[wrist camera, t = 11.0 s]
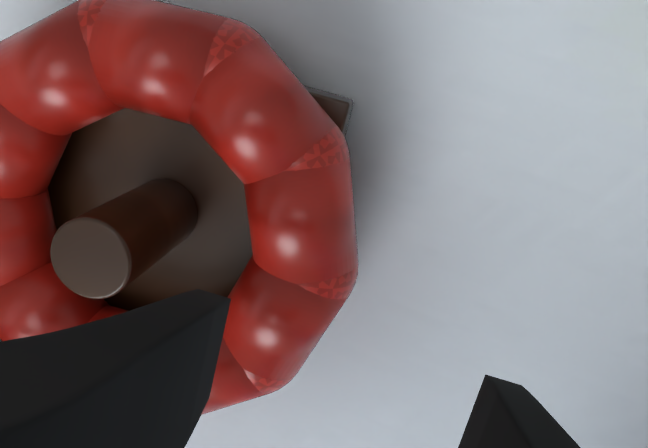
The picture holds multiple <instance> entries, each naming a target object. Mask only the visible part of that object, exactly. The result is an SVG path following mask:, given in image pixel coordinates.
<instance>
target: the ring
mask: <svg viewBox="0 0 648 448" xmlns="http://www.w3.org/2000/svg"><path fill="white" fill-rule="evenodd" d="M124 108H127V109H131V110H135V111H139V112H143V113H147V114H151V115H155V116H159V117H163V118H167V119H171V120H175V121H179V122H183V123H187V124H191V125H192V126H193V127H194V128H195V129H196V130H197V131H198V132H199V134H200V135H201V136H202V137H203V138H204V139H205V140H206V142H207V143H208V144H209V145H210V146H211V147H212V148H213V150H214V151H215V152H216V153H217V154H218V155H219V156H220V157H221V159H222V160H223V161H224V162H225V163H226V164H227V165H228V167H229V168H230V169H231V170H232V171H233V172H234V173H235V175H236V176H237V177H238V178H239V179H240V180H241V181H242V183H243V184H244V190H245V198H246V206H247V213H248V221H249V229H250V237H251V245H252V253H253V255H252V257H251V259H250V260H249V262H248V264H247V265H246V267H245V269H244V270H243V272H242V274H241V275H240V277H239V279H238V280H237V282H236V284H235V286H234V287H233V289H232V291H231V292H230V294H229V296H228V297H227V298H230V299H231V302H230V306H229V311H228V315H227V320H226V324H225V329H224V333H223V338H222V342H221V347H220V351H219V356H218V360H217V365H216V370H215V374H214V379H213V383H212V388H211V392H210V397H209V400H208V402H207V404H206V406H205V408H204V410H203V412H202V414H205V413H208V412H212V411H215V410H218V409H221V408H224V407H228V406H231V405H234V404H237V403H240V402H244V401H247V400H250V399H253V398H256V397H260V396H263V395H266V394H269V393H272V392H274V391H277V390H279V389H281V388H282V387H283V386H285V385H286V384H287V383H289V382H290V381H291V380H292V379H293V377H294V376H295V375H296V374H297V372H298V371H299V369H300V368H301V366H302V365H303V364H304V362H305V361H306V359H307V358H308V356H309V355H310V353H311V352H312V350H313V349H314V347H315V346H316V344H317V343H318V341H319V340H320V338H321V337H322V335H323V334H324V332H325V331H326V329H327V328H328V326H329V325H330V323H331V322H332V320H333V319H334V317H335V316H336V314H337V313H338V311H339V310H340V308H341V307H342V305H343V304H344V302H345V301H346V299H347V298H348V296H349V295H350V293H351V291H352V289H353V287H354V285H355V283H356V279H357V275H358V252H357V239H356V227H355V215H354V202H353V190H352V178H351V165H350V154H349V150H348V145H347V142H346V140H345V137H344V135H343V133H342V132H341V130H340V129H339V127H338V126H337V125H336V124H335V123H334V121H333V120H332V119H331V118H330V117H329V115H328V114H327V113H326V112H325V111H324V110H323V108H322V107H321V106H320V105H319V104H318V102H317V101H316V100H315V99H314V98H313V97H312V95H311V94H310V93H309V92H308V91H307V89H306V88H305V87H304V86H303V85H302V84H301V82H300V81H299V80H298V79H297V78H296V76H295V75H294V74H293V73H292V72H291V71H290V69H289V68H288V67H287V66H286V65H285V63H284V62H283V61H282V60H281V59H280V58H279V56H278V55H277V54H276V53H275V52H274V50H273V49H272V48H271V47H270V46H269V45H268V43H267V42H266V41H265V40H264V39H263V38H262V36H261V35H260V34H258V33H257V32H256V31H255V30H254V29H253V28H251V27H249V26H248V25H246V24H244V23H242V22H240V21H237V20H235V19H231V18H227V17H223V16H219V15H214V14H210V13H206V12H202V11H197V10H193V9H189V8H185V7H180V6H176V5H172V4H168V3H164V2H159V1H155V0H78V1H76V2H75V3H73V4H71V5H69V6H67V7H65V8H63V9H61V10H59V11H57V12H56V13H54V14H52V15H50V16H48V17H46V18H44V19H42V20H40V21H39V22H37V23H35V24H33V25H31V26H29V27H27V28H25V29H23V30H21V31H20V32H18V33H16V34H14V35H12V36H10V37H8V38H6V39H4V40H2V41H1V42H0V339H1V340H2V341H7V340H12V339H18V338H24V337H29V336H35V335H40V334H45V333H50V332H54V331H59V330H63V329H67V328H71V327H75V326H78V325H82V324H86V323H89V322H93V321H96V320H100V319H103V318H107V317H111V316H114V315H118V314H121V313H124V312H127V310H124V309H120V308H117V307H113V306H110V305H109V304H108V303H107V302H106V301H105V300H104V299H91V298H86V297H83V296H80V295H78V294H76V293H74V292H73V291H71V290H70V289H69V288H67V287H66V286H65V285H64V284H63V283H62V282H61V280H60V279H59V278H58V276H57V274H56V273H55V270H54V268H53V265H52V262H51V254H50V251H51V243H52V240H53V237H54V235H55V233H56V232H57V230H56V225H55V220H54V215H53V210H52V206H51V201H50V196H49V191H48V186H49V184H50V181H51V179H52V177H53V175H54V173H55V170H56V168H57V166H58V164H59V161H60V159H61V157H62V155H63V152H64V150H65V148H66V146H67V143H68V141H69V139H70V137H71V134H72V132H75V131H77V130H79V129H81V128H83V127H85V126H87V125H90V124H92V123H94V122H96V121H98V120H100V119H102V118H105V117H107V116H109V115H111V114H113V113H115V112H117V111H120V110H122V109H124ZM202 414H201V415H202Z"/></svg>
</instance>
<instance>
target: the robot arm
mask: <svg viewBox="0 0 648 448" xmlns="http://www.w3.org/2000/svg"><path fill="white" fill-rule="evenodd" d="M230 302H231V299H230V298H227V297H224V296H220V295H217V294H214V293H210V292H207V291H204V290H200V289H196V290H191V291H187V292H184V293H181V294H178V295H175V296H172V297H169V298H166V299H163V300H160V301H157V302H154V303H151V304H148V305H145V306H142V307H139V308H136V309H133V310H130V311H127V312H124V313H121V314H118V315H114V316H111V317H107V318H103V319H100V320H96V321H93V322H89V323H86V324H82V325H78V326H75V327H71V328H67V329H63V330H59V331H54V332H50V333H45V334H40V335H35V336H29V337H24V338H18V339H12V340H7V341H0V448H184V447H185V445H186V444H187V442H188V440H189V438H190V436H191V434H192V432H193V430H194V428H195V426H196V424H197V422H198V420H199V418H200V416H201V414H202V412H203V410H204V408H205V406H206V404H207V402H208V400H209V397H210V392H211V388H212V383H213V379H214V374H215V370H216V365H217V360H218V356H219V351H220V347H221V342H222V338H223V333H224V329H225V324H226V320H227V315H228V311H229V306H230ZM458 448H580V447H579V446H578V444H577V443H576V442H575V441H574V440H573V439H572V438H571V437H570V436H569V435H568V434H567V432H566V431H565V430H564V429H563V428H562V427H561V426H560V425H559V424H558V423H557V421H556V420H555V419H554V418H553V417H552V416H551V415H550V414H549V413H548V411H547V410H546V409H545V408H544V407H543V406H542V405H541V404H540V403H539V402H538V401H537V400H536V399H535V398H534V397H533V396H532V395H531V394H530V393H529V392H528V391H527V390H526V389H525V388H524V387H523V386H521V385H518V384H515V383H512V382H508V381H505V380H502V379H498V378H495V377H492V376H488V375H485V377H484V380H483V383H482V385H481V388H480V391H479V393H478V396H477V399H476V401H475V404H474V407H473V410H472V412H471V415H470V418H469V420H468V423H467V426H466V428H465V431H464V434H463V436H462V439H461V442H460V444H459V447H458Z"/></svg>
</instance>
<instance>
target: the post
mask: <svg viewBox="0 0 648 448" xmlns="http://www.w3.org/2000/svg"><path fill="white" fill-rule="evenodd" d="M304 87H305V88H306V89H307V91H308V92H309V93H310V94H311V95H312V97H313V98H314V99H315V100H316V101H317V102H318V104H319V105H320V106H321V107H322V108H323V110H324V111H325V112H326V113H327V114H328V115H329V117H330V118H331V119H332V120H333V121H334V123H335V124H336V125H337V126H338V127H339V129H340V130H341V132H342V133H343V135H344V137H345V134H346V130H347V126H348V123H349V119H350V115H351V111H352V108H353V104H354V100H352V99H350V98H346V97H343V96H339V95H336V94H332V93H328V92H325V91H321V90H317V89H314V88H310V87H306V86H304ZM48 191H49V196H50V201H51V206H52V210H53V215H54V220H55V225H56V230H57V232H56V233H55V235H54V237H53V240H52V243H51V251H50V254H51V262H52V265H53V268H54V270H55V273H56V274H57V276H58V278H59V279H60V280H61V282H62V283H63V284H64V285H65V286H66V287H67V288H69V289H70V290H71V291H73V292H74V293H76V294H78V295H80V296H83V297H86V298H91V299H104V300H105V301H106V302H107V303H108V304H109V305H110V306H113V307H117V308H120V309H124V310H127V311H130V310H133V309H136V308H139V307H142V306H145V305H148V304H151V303H154V302H157V301H160V300H163V299H166V298H169V297H172V296H175V295H178V294H181V293H184V292H187V291H191V290H196V289H200V290H204V291H207V292H210V293H214V294H217V295H220V296H224V297H228V296H229V294H230V292H231V291H232V289H233V287H234V286H235V284H236V282H237V280H238V279H239V277H240V275H241V274H242V272H243V270H244V269H245V267H246V265H247V264H248V262H249V260H250V259H251V257H252V255H253V253H252V245H251V237H250V229H249V221H248V213H247V206H246V198H245V190H244V184H243V183H242V181H241V180H240V179H239V178H238V177H237V176H236V175H235V173H234V172H233V171H232V170H231V169H230V168H229V167H228V165H227V164H226V163H225V162H224V161H223V160H222V159H221V157H220V156H219V155H218V154H217V153H216V152H215V151H214V150H213V148H212V147H211V146H210V145H209V144H208V143H207V142H206V140H205V139H204V138H203V137H202V136H201V135H200V134H199V132H198V131H197V130H196V129H195V128H194V127H193V126H192V125H191V124H187V123H183V122H179V121H175V120H171V119H167V118H163V117H159V116H155V115H151V114H147V113H143V112H139V111H135V110H131V109H127V108H124V109H122V110H120V111H117V112H115V113H113V114H111V115H109V116H107V117H105V118H102V119H100V120H98V121H96V122H94V123H92V124H90V125H87V126H85V127H83V128H81V129H79V130H77V131H75V132H72V134H71V137H70V139H69V141H68V143H67V146H66V148H65V150H64V152H63V155H62V157H61V159H60V161H59V164H58V166H57V168H56V170H55V173H54V175H53V177H52V179H51V181H50V184H49V186H48Z"/></svg>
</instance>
